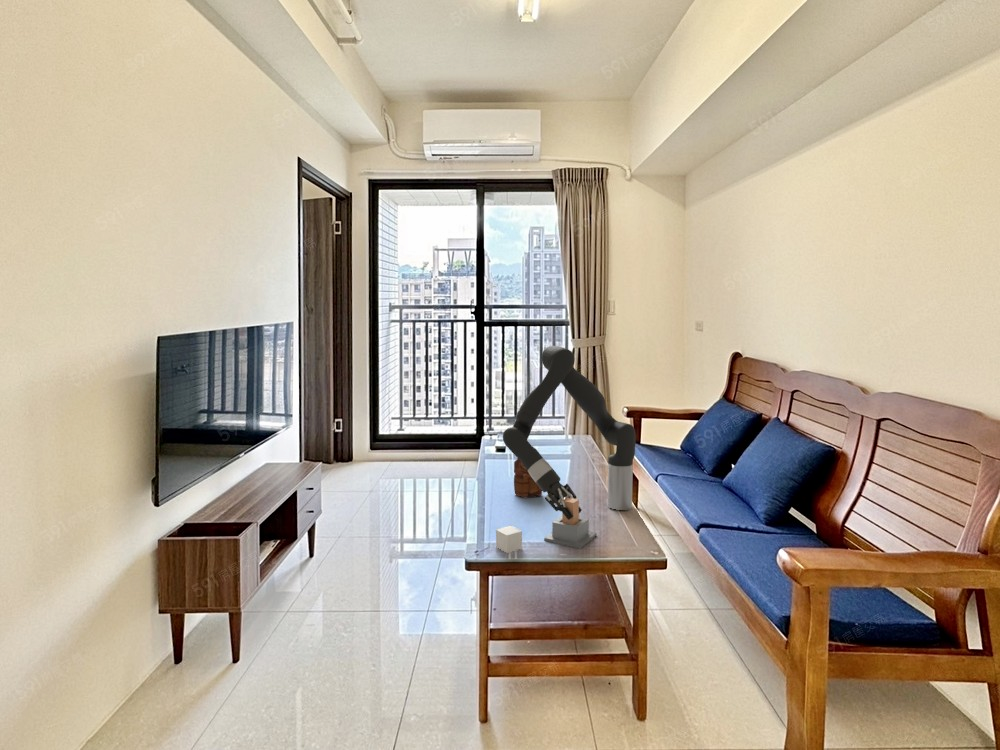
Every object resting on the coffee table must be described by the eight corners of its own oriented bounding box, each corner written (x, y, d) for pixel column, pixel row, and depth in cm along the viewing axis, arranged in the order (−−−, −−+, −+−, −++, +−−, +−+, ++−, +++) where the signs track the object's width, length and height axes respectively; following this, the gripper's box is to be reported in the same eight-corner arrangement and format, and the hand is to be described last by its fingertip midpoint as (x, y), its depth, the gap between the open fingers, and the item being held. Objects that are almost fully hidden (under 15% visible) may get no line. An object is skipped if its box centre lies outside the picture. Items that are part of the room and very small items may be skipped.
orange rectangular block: (562, 535, 191) (562, 500, 189) (567, 532, 194) (567, 497, 193) (573, 538, 188) (573, 502, 187) (578, 534, 192) (578, 499, 190)
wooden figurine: (515, 498, 234) (515, 455, 232) (513, 493, 240) (513, 451, 238) (544, 497, 235) (544, 454, 233) (541, 492, 241) (541, 450, 239)
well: (544, 540, 189) (544, 523, 189) (562, 528, 200) (562, 511, 199) (580, 548, 182) (580, 530, 182) (596, 535, 193) (596, 518, 192)
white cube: (510, 543, 188) (510, 525, 187) (522, 549, 183) (522, 531, 182) (495, 547, 184) (495, 529, 184) (507, 553, 179) (506, 535, 179)
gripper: (540, 473, 187) (573, 515, 182) (560, 463, 199) (591, 502, 194) (526, 486, 190) (558, 528, 185) (547, 476, 202) (577, 515, 197)
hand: (575, 515), depth 189 cm, fingers open, 6 cm apart
